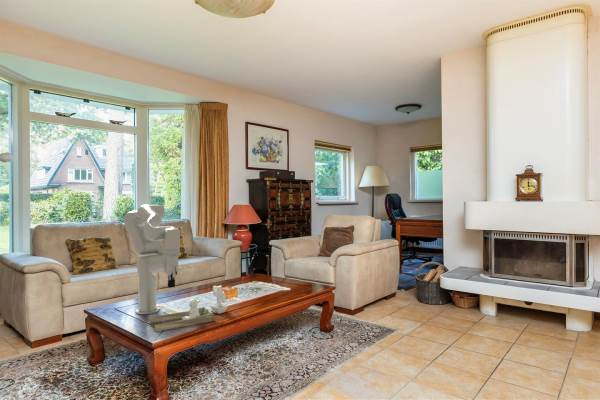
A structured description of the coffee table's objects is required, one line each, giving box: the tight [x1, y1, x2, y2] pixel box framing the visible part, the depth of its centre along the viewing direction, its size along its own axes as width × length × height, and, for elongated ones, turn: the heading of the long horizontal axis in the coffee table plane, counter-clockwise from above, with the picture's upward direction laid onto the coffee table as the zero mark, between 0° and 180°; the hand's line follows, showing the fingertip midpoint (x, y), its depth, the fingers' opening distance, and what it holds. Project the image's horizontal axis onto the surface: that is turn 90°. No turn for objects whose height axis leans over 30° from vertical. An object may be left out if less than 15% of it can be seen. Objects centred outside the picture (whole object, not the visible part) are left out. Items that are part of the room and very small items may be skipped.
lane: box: [148, 306, 214, 333], centre depth 193 cm, size 14×30×4 cm, turn 123°
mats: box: [149, 321, 164, 331], centre depth 187 cm, size 11×6×1 cm, turn 33°
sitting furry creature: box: [181, 298, 201, 320], centre depth 195 cm, size 10×9×12 cm
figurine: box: [209, 284, 229, 315], centre depth 210 cm, size 7×9×15 cm
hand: (171, 287), depth 191 cm, fingers closed
